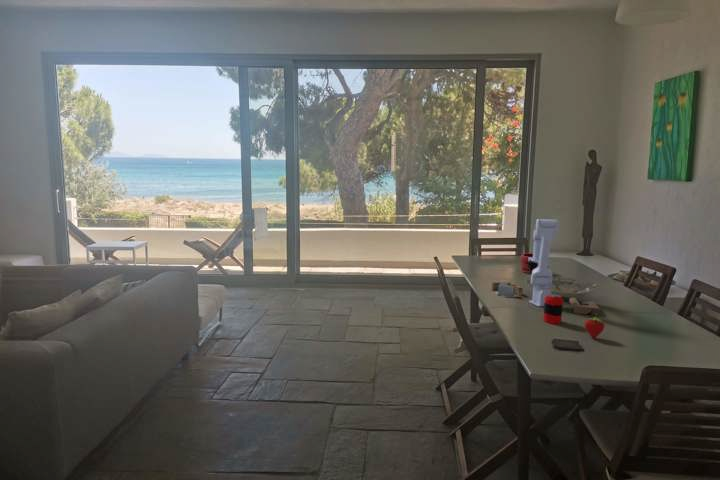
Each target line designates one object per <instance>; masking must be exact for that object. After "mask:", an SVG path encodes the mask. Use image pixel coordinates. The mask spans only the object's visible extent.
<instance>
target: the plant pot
mask: <svg viewBox="0 0 720 480" xmlns="http://www.w3.org/2000/svg"><path fill="white" fill-rule="evenodd" d="M529 257H532V258H533V252H532V253H531V252H529V253H528V252H527V253H521V257H520V262H521V267H522V268H521V269H520V270H521V271H522V272H523V273H525V272H526V273H525V274H528V273H530V269H529V266H528V264H527V262H530V261H528V258H529ZM537 267H538V264H537V266H536V268H537Z"/></svg>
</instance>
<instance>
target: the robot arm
mask: <svg viewBox="0 0 720 480" xmlns="http://www.w3.org/2000/svg"><path fill="white" fill-rule="evenodd" d="M558 231H559V220H558V219H556V218H555V219H547V218H537V219H536V221H535V229H534V230H533V233H532V235H533V236H532V238H533V249H532V250H533V251H532V253H533V258H532V257H529V258H528V261H530V262H527V264H528V266H529V269H530V274H529V275H530V284H531V286H532V287H533V288H532V298H531V300H528V302H529V303H530V304H533V305H535V306H537V307H544V304H545V297H546V296H547V295H548V294H552V291H551V290H550V289H549V288H550V287H551V286H552V285H553V272H552V270H551V269H550V268H549V260H550V253H551V245H552V243H553V240H554V239H556V238H557V236H558ZM537 264H538V267H537V268H536V266H537Z"/></svg>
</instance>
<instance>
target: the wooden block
mask: <svg viewBox="0 0 720 480" xmlns="http://www.w3.org/2000/svg"><path fill="white" fill-rule="evenodd" d="M568 300H569V303H570V305H571V307H572V308H573V313H574V314H578V315H588V314H590V315H591V316H599V315H600V312H601V308H600V307H599V306H598V305H597V303H596V302H595V300H590V301H585V302H579V301H578V299H577V298H576V297H574V296H573V297H570V298H569V299H568Z"/></svg>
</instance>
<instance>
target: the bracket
mask: <svg viewBox="0 0 720 480" xmlns="http://www.w3.org/2000/svg"><path fill="white" fill-rule="evenodd" d="M514 288H515V286H509V285H508V283H500V284H499V286H498V291H497V292H498V294H497V296H500V295H502V296H510V297H509V298H514V297H513V296H514V294H515V293H514ZM502 296H501V297H502Z"/></svg>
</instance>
